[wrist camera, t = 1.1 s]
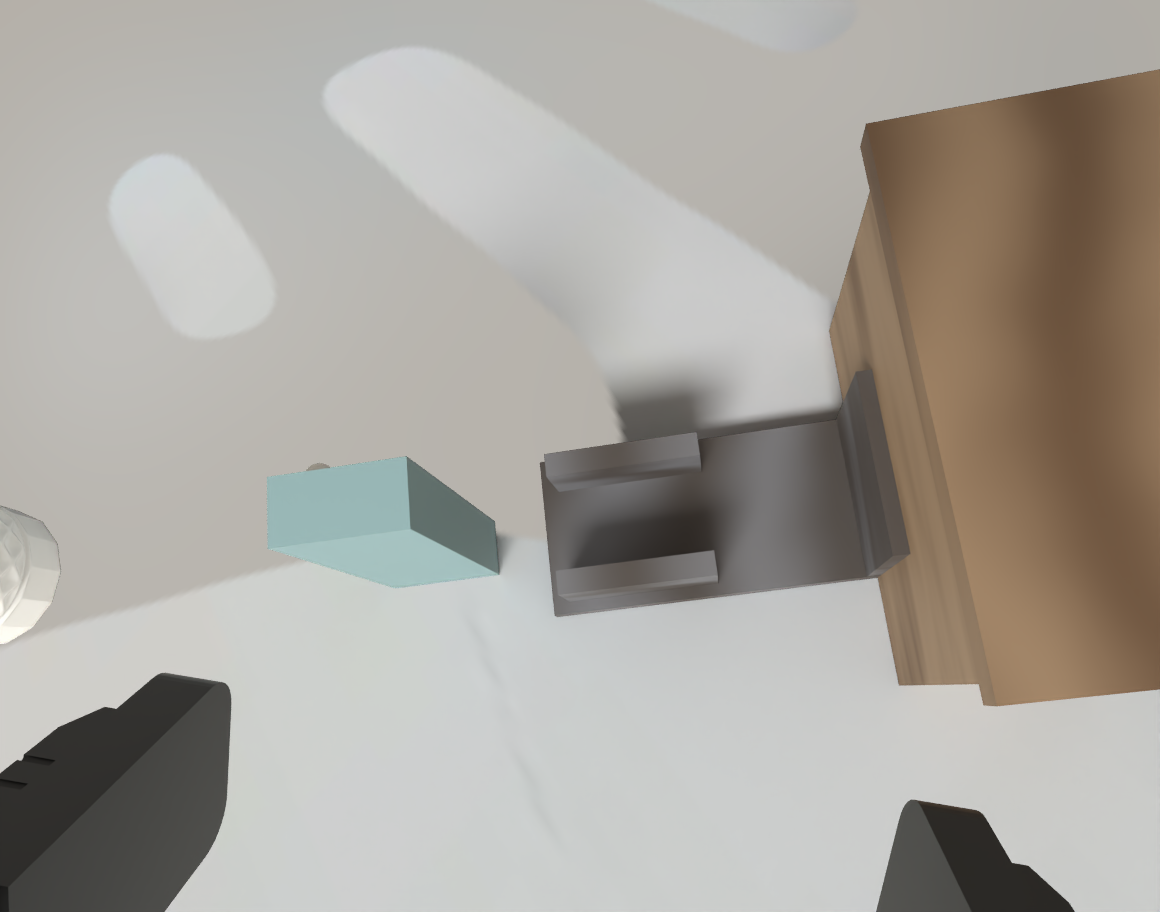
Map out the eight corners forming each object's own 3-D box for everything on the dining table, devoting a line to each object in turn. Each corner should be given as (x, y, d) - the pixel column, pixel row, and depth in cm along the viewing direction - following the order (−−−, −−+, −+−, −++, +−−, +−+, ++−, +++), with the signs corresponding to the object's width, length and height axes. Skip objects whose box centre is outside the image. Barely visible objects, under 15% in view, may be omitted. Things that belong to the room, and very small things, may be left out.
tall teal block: (493, 502, 42) (405, 430, 30) (499, 574, 41) (410, 528, 29) (391, 516, 42) (266, 452, 31) (395, 588, 41) (267, 548, 30)
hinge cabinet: (1017, 290, 40) (1184, 64, 26) (1118, 674, 36) (1390, 665, 21) (533, 367, 43) (435, 203, 28) (569, 732, 38) (474, 760, 24)
